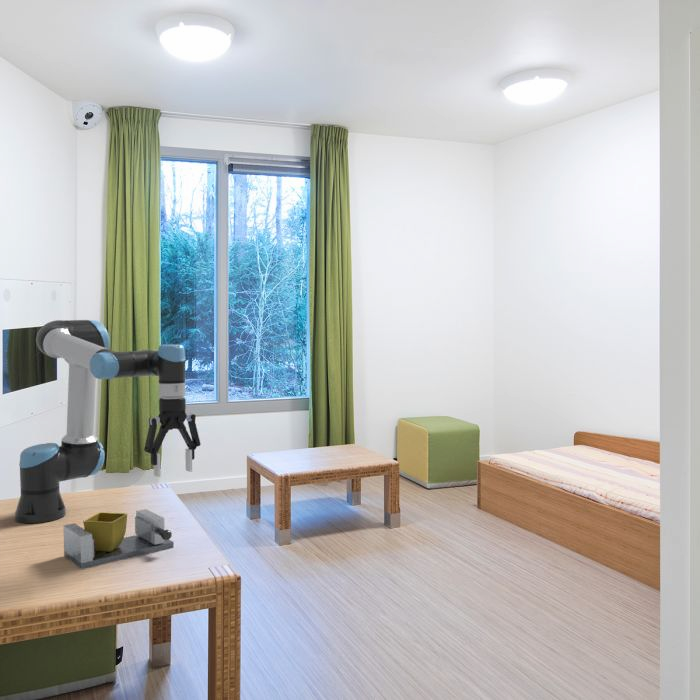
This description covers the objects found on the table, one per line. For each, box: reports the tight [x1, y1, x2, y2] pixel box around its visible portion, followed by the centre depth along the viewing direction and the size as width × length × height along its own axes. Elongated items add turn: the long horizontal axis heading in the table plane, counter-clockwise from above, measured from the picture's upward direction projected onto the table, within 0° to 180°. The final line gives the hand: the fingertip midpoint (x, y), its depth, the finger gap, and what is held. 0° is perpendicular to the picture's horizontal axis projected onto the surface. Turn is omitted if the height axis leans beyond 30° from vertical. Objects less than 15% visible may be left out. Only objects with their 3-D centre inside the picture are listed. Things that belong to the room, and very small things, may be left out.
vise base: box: [63, 522, 174, 570], centre depth 192 cm, size 13×26×8 cm, turn 131°
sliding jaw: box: [134, 508, 172, 545], centre depth 196 cm, size 18×4×7 cm, turn 41°
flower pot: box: [83, 512, 128, 552], centre depth 190 cm, size 9×9×9 cm
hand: (173, 473), depth 202 cm, fingers open, 9 cm apart
